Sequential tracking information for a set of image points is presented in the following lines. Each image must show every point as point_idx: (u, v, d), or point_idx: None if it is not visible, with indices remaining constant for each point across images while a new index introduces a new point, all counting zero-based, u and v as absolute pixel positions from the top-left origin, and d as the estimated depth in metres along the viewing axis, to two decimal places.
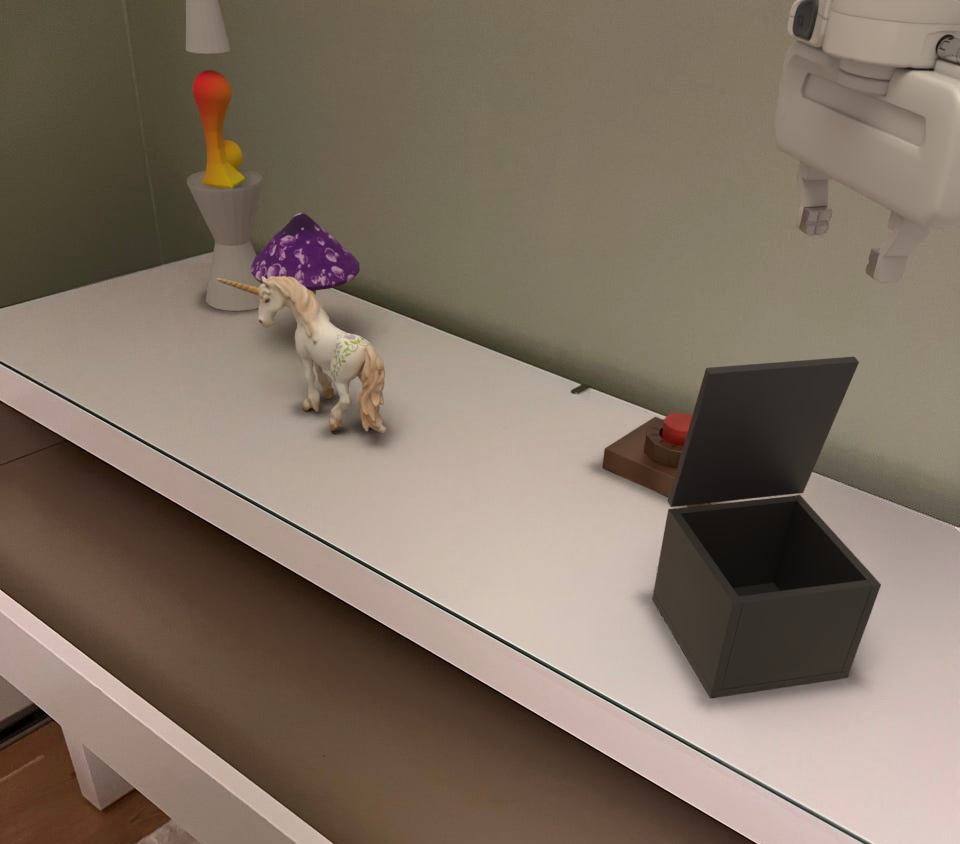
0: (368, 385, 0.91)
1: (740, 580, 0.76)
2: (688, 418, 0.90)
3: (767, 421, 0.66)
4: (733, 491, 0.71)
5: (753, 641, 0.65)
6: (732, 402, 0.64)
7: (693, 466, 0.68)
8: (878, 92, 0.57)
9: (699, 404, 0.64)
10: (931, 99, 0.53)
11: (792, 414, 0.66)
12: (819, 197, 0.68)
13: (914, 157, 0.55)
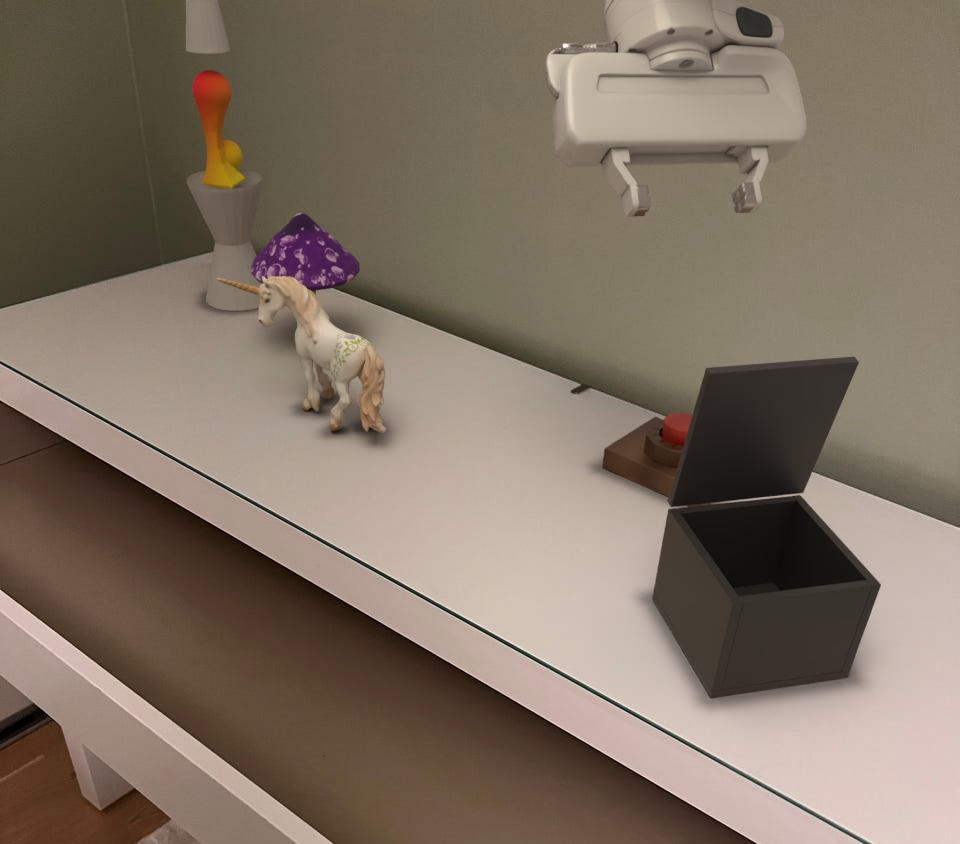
0: (368, 385, 0.91)
1: (740, 580, 0.76)
2: (688, 418, 0.90)
3: (767, 421, 0.66)
4: (733, 491, 0.71)
5: (753, 641, 0.65)
6: (732, 402, 0.64)
7: (693, 466, 0.68)
8: None
9: (699, 404, 0.64)
10: None
11: (792, 414, 0.66)
12: (750, 179, 0.75)
13: None
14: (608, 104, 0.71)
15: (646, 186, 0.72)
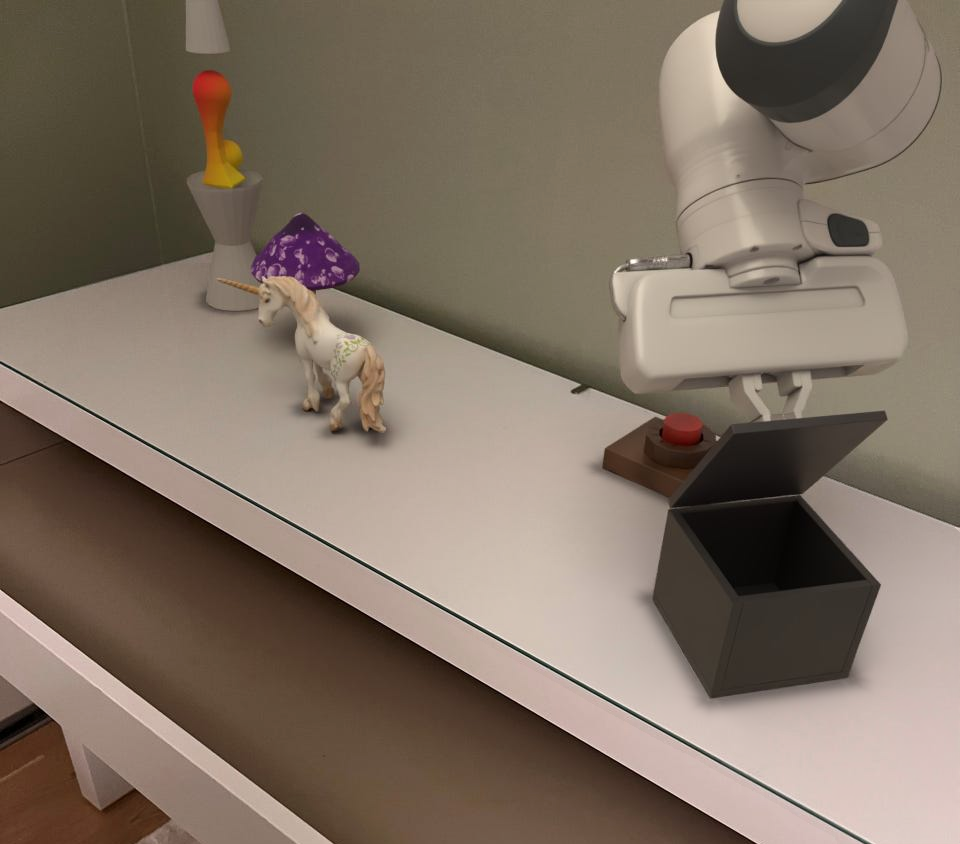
0: (368, 385, 0.91)
1: (740, 580, 0.76)
2: (688, 418, 0.90)
3: (782, 457, 0.65)
4: (734, 497, 0.71)
5: (753, 641, 0.65)
6: (751, 448, 0.62)
7: (700, 485, 0.67)
8: None
9: (717, 450, 0.62)
10: None
11: (808, 452, 0.65)
12: (791, 407, 0.65)
13: None
14: (682, 331, 0.63)
15: (781, 415, 0.64)
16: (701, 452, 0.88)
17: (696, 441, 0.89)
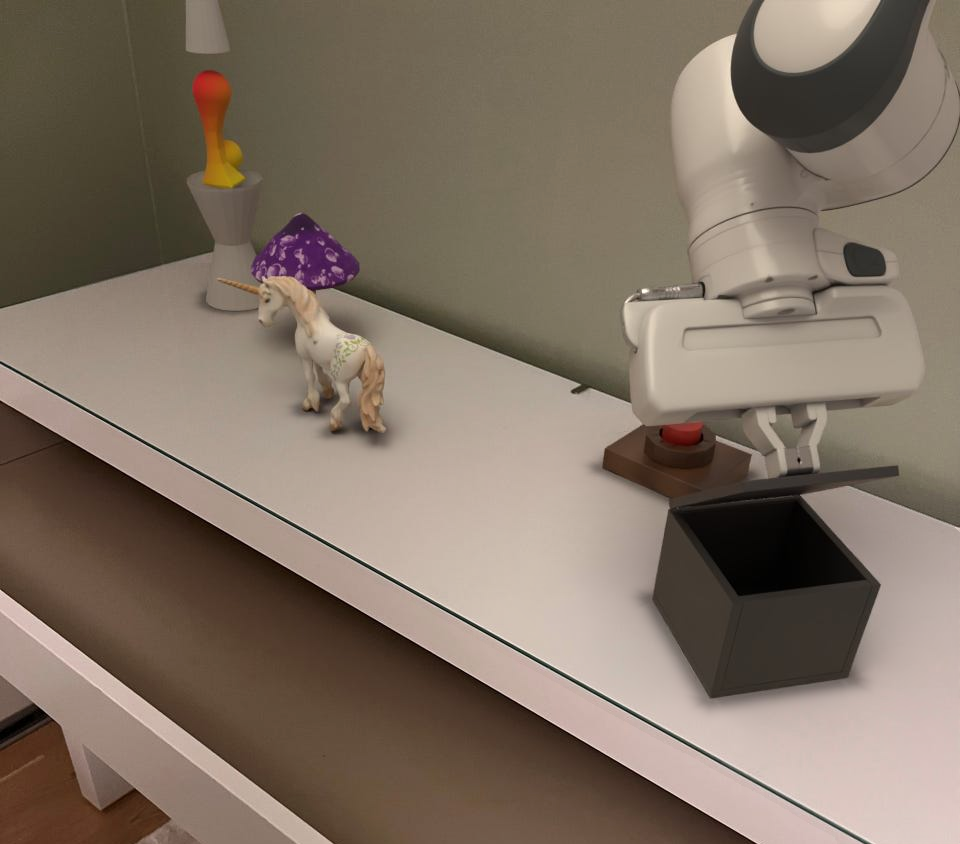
0: (368, 385, 0.91)
1: (740, 580, 0.76)
2: None
3: (788, 491, 0.65)
4: (734, 501, 0.71)
5: (753, 641, 0.65)
6: (758, 492, 0.62)
7: None
8: None
9: (725, 493, 0.62)
10: None
11: None
12: (805, 440, 0.63)
13: None
14: (695, 363, 0.61)
15: (795, 449, 0.63)
16: (701, 452, 0.88)
17: (696, 441, 0.89)
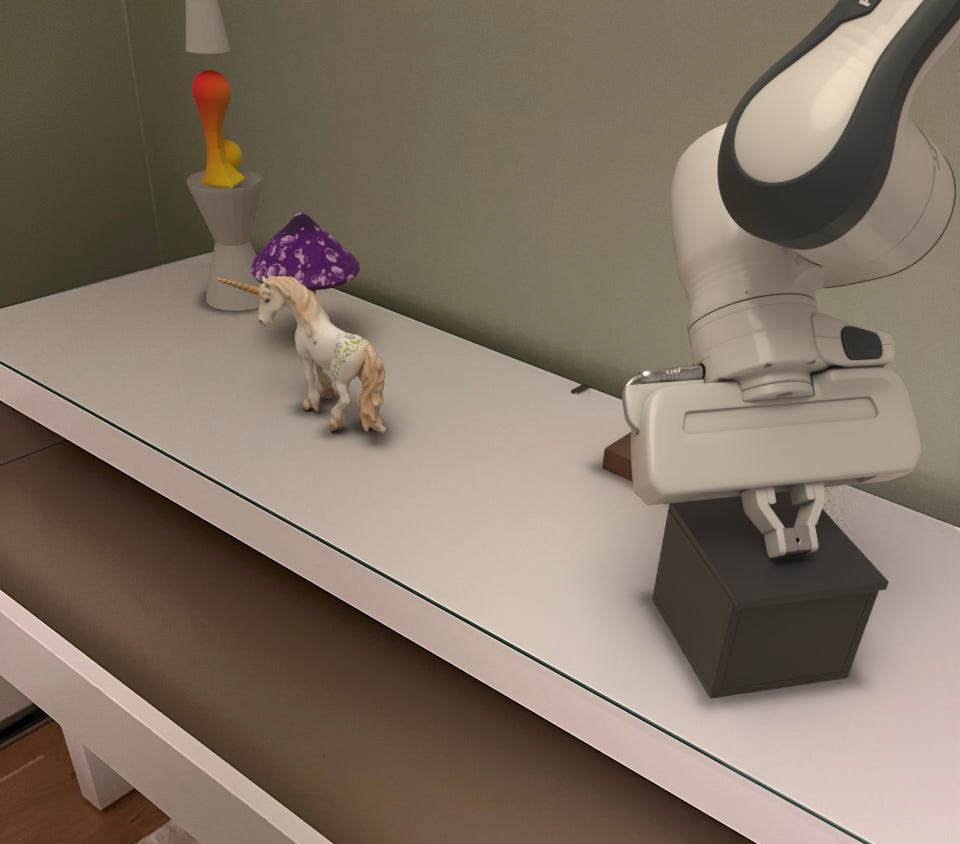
0: (368, 385, 0.91)
1: None
2: None
3: None
4: None
5: (753, 641, 0.65)
6: None
7: None
8: None
9: (721, 583, 0.64)
10: None
11: None
12: (804, 518, 0.65)
13: None
14: (695, 446, 0.62)
15: (794, 529, 0.64)
16: None
17: None
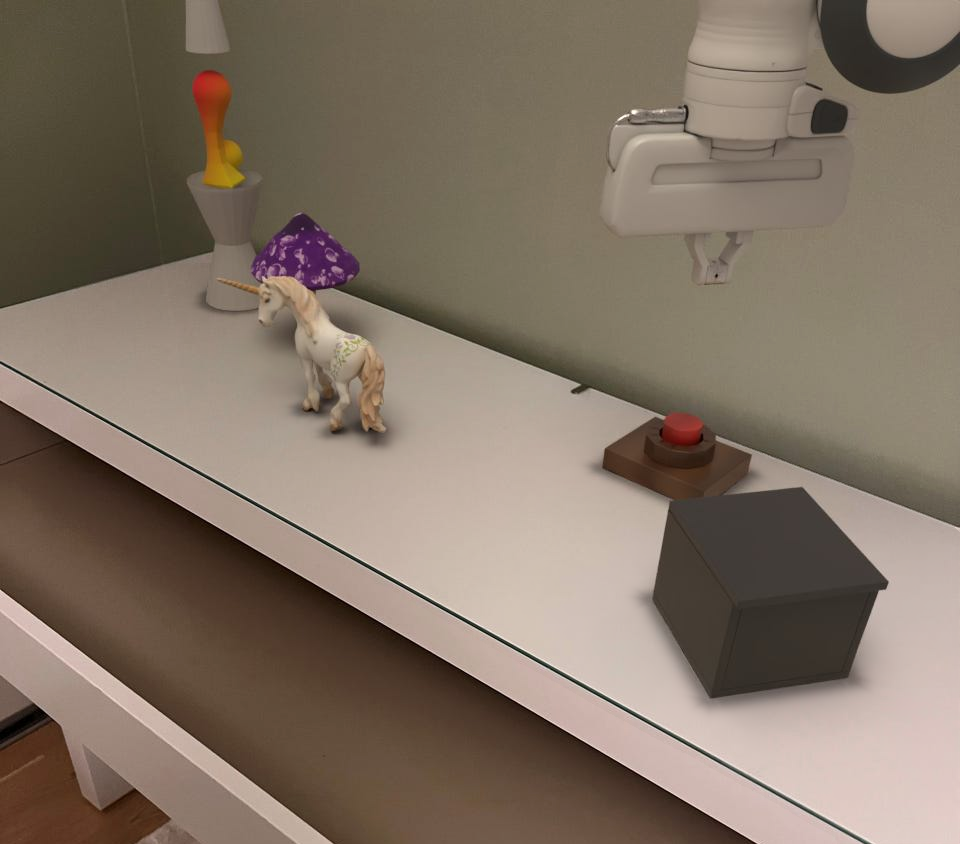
0: (368, 385, 0.91)
1: None
2: (688, 418, 0.90)
3: None
4: None
5: (753, 641, 0.65)
6: None
7: None
8: None
9: (721, 583, 0.64)
10: None
11: None
12: (728, 255, 0.79)
13: None
14: (657, 198, 0.74)
15: (716, 266, 0.79)
16: (701, 452, 0.88)
17: (696, 441, 0.89)
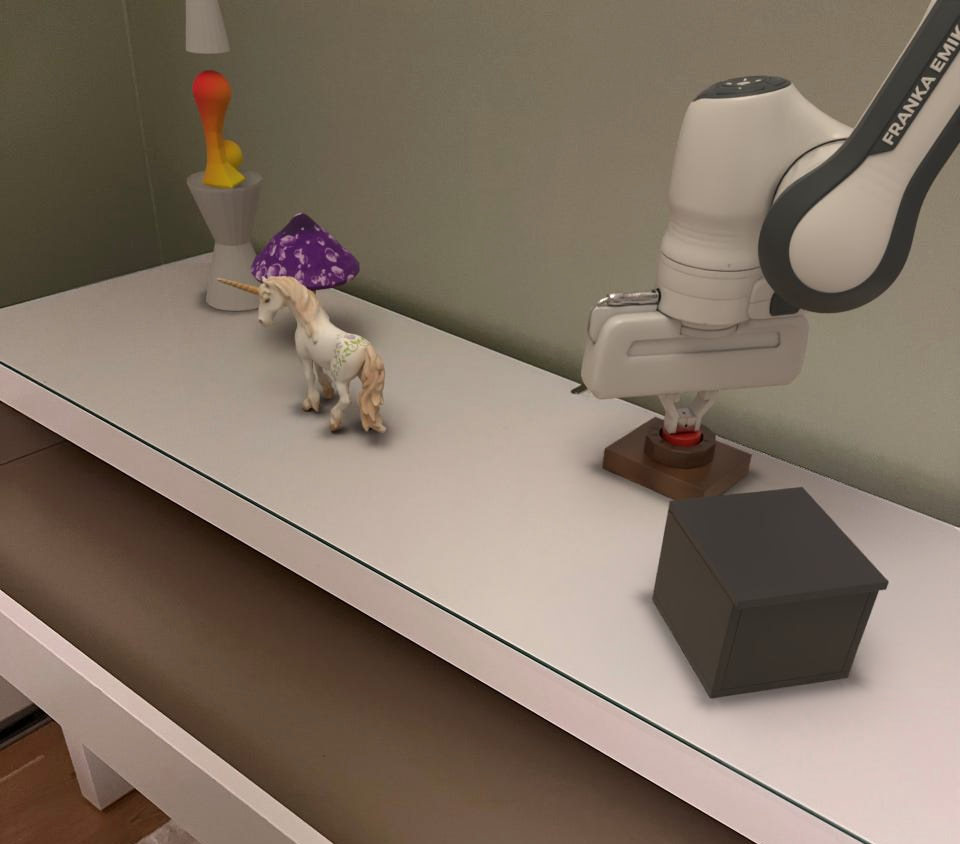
0: (368, 385, 0.91)
1: None
2: None
3: None
4: None
5: (753, 641, 0.65)
6: None
7: None
8: None
9: (721, 583, 0.64)
10: None
11: None
12: (697, 407, 0.88)
13: None
14: (632, 367, 0.82)
15: (686, 418, 0.88)
16: (701, 452, 0.88)
17: None
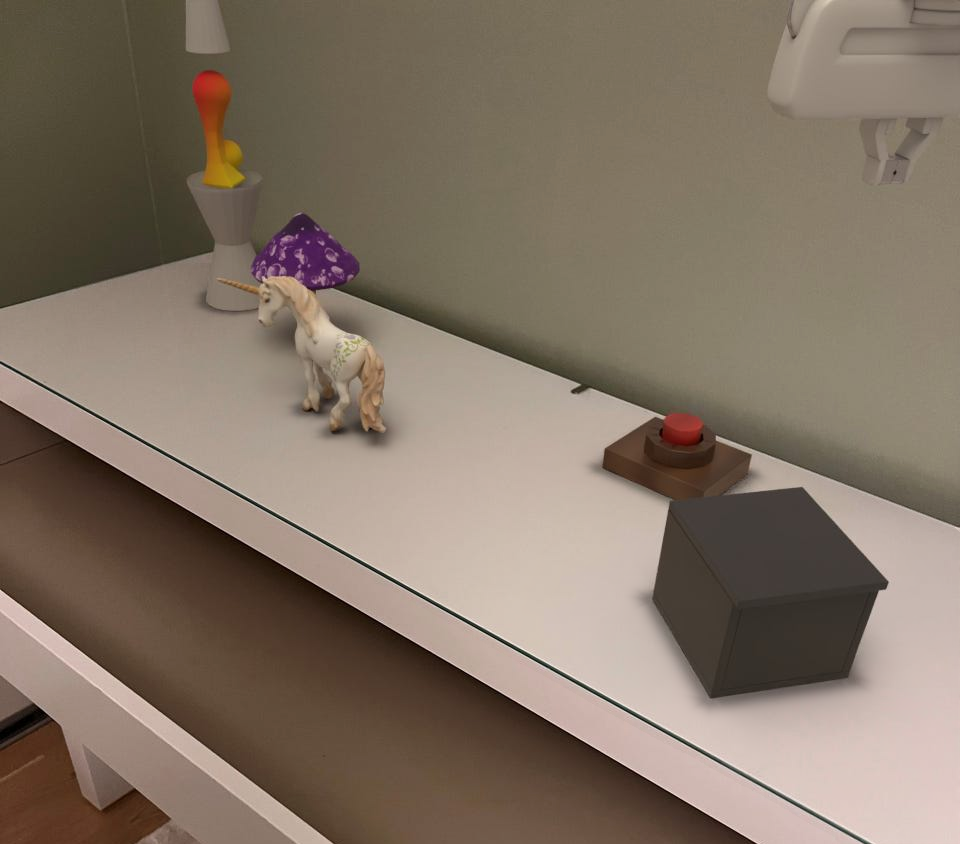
0: (368, 385, 0.91)
1: None
2: (688, 418, 0.90)
3: None
4: None
5: (753, 641, 0.65)
6: None
7: None
8: None
9: (721, 583, 0.64)
10: None
11: None
12: (909, 149, 0.68)
13: None
14: (844, 71, 0.62)
15: (896, 161, 0.68)
16: (701, 452, 0.88)
17: (696, 441, 0.89)
